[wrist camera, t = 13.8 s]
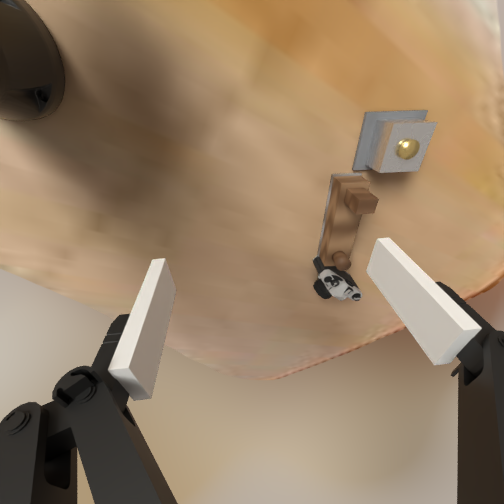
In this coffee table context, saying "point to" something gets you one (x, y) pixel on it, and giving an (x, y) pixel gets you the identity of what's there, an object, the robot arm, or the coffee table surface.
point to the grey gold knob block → (399, 144)
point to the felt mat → (369, 128)
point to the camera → (334, 282)
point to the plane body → (344, 217)
